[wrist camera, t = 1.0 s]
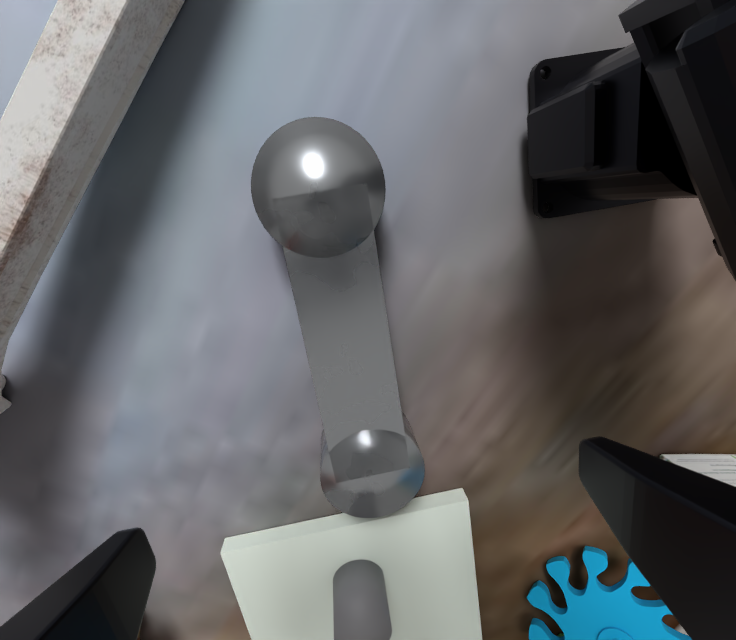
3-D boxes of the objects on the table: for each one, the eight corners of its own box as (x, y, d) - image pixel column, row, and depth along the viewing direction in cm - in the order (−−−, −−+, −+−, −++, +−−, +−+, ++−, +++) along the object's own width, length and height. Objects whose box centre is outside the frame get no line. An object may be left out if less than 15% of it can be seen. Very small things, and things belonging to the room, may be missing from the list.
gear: (618, 520, 22) (801, 724, 18) (615, 496, 27) (758, 650, 23) (478, 611, 25) (603, 805, 21) (499, 575, 30) (603, 725, 26)
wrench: (254, -53, 17) (-38, 505, 19) (215, -84, 16) (-79, 492, 19) (212, -318, 9) (-275, 685, 11) (134, -389, 8) (-356, 669, 11)
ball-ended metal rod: (366, 124, 16) (374, 107, 14) (416, 466, 22) (430, 506, 19) (251, 142, 16) (235, 128, 13) (330, 485, 22) (331, 527, 19)
